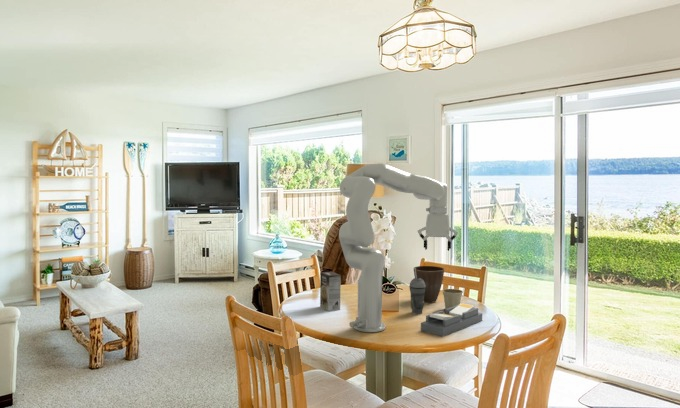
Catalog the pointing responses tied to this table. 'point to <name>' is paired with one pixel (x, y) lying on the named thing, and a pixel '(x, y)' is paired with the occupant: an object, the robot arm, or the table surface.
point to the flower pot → (452, 297)
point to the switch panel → (450, 322)
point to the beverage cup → (417, 294)
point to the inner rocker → (440, 316)
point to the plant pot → (430, 281)
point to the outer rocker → (461, 309)
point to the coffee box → (330, 291)
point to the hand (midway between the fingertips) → (437, 249)
